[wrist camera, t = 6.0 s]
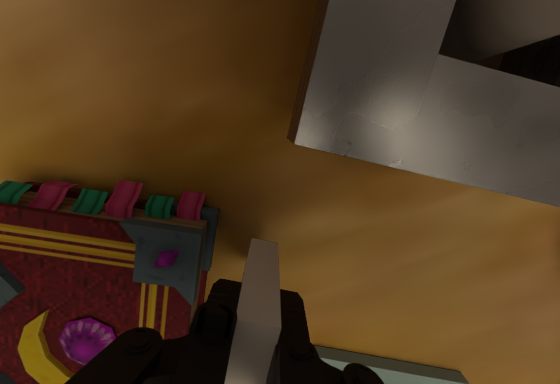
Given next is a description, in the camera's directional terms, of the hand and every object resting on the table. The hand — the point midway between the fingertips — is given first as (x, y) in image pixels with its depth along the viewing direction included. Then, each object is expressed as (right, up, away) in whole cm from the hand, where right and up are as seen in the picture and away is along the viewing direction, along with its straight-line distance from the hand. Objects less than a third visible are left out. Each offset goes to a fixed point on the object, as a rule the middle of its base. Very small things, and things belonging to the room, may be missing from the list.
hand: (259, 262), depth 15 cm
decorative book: (-9, -3, +3) cm, 10 cm away
